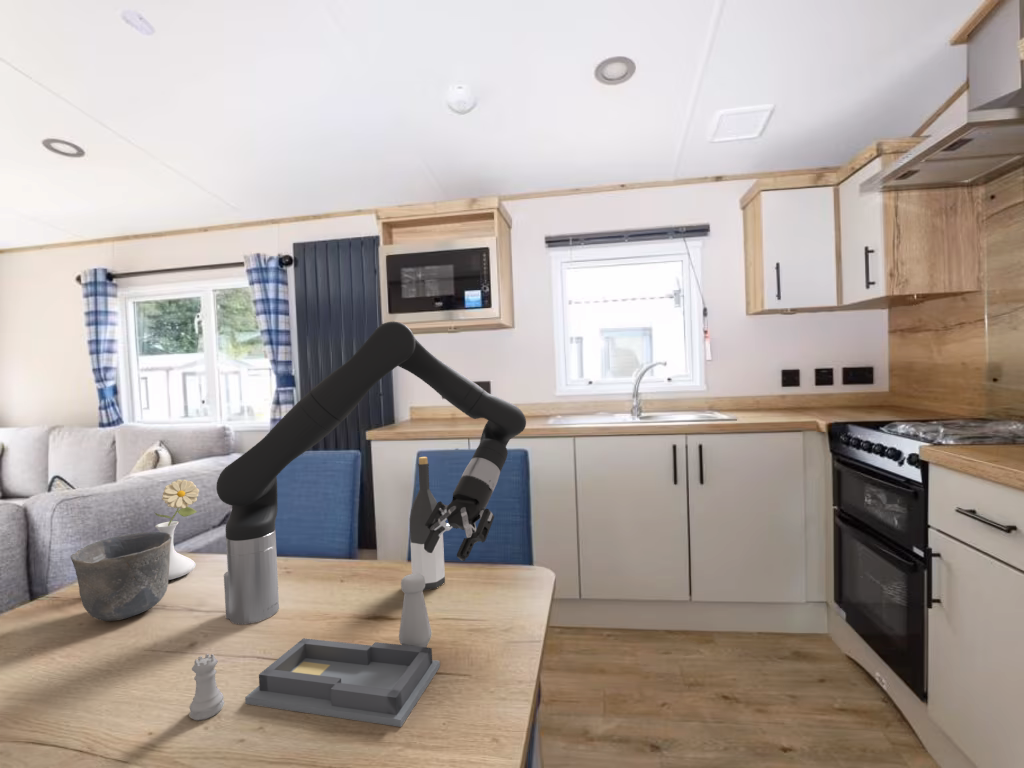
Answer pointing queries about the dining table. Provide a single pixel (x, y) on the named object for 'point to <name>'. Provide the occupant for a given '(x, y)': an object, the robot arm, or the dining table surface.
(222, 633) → the dining table surface
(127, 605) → the grey stone bowl
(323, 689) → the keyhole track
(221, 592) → the dining table surface
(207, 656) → the rook chess piece
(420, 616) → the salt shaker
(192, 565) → the flower in vase
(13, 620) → the dining table surface
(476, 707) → the dining table surface
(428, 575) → the wine bottle
